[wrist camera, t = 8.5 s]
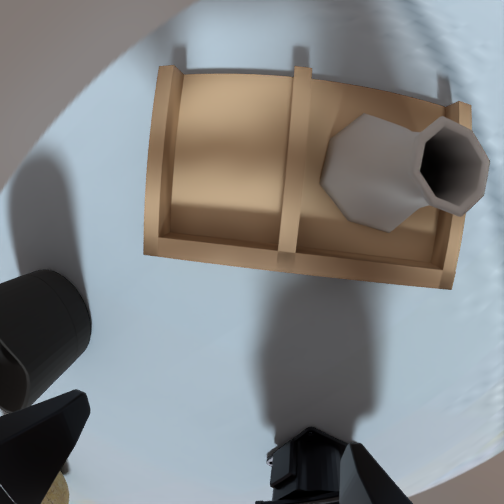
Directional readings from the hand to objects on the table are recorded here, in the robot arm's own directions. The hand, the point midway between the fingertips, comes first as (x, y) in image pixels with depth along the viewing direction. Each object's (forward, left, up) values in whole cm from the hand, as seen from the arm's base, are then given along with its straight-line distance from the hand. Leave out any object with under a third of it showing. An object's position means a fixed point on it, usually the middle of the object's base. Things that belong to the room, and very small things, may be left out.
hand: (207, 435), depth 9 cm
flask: (-1, -11, -13) cm, 17 cm away
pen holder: (+13, +13, -13) cm, 23 cm away
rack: (+2, -9, -13) cm, 16 cm away
